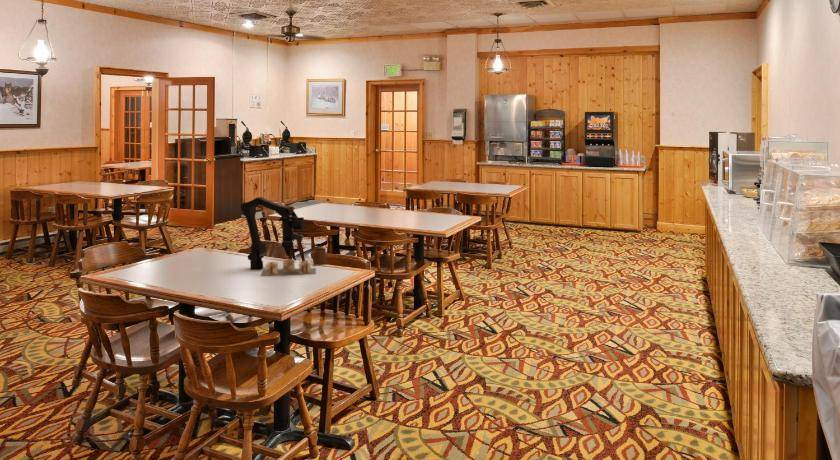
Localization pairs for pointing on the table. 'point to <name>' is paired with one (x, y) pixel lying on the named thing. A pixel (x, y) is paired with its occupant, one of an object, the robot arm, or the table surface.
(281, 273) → the mat
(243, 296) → the table surface
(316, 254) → the mug
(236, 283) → the table surface
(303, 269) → the marked block right
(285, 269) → the plain block
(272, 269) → the marked block left
